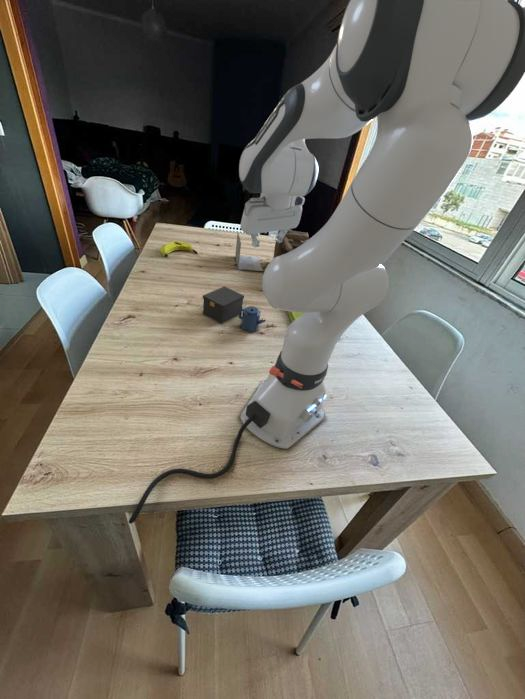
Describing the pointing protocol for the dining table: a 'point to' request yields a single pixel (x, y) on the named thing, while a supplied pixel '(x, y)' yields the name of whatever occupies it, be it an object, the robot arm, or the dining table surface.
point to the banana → (176, 247)
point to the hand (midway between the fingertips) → (267, 244)
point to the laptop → (246, 259)
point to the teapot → (250, 318)
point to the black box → (222, 304)
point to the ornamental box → (290, 242)
